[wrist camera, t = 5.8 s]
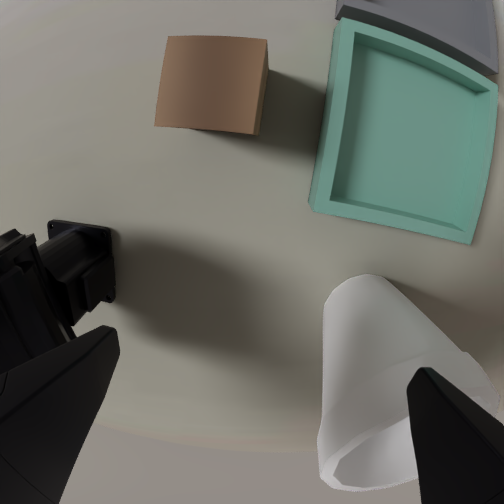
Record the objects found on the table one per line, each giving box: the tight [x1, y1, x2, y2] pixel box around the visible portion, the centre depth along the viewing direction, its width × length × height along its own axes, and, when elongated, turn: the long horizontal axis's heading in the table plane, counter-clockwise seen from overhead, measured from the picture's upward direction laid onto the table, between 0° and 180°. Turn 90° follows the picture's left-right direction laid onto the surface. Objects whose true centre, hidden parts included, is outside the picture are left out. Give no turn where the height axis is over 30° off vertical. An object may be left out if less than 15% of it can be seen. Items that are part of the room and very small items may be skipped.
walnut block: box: [154, 36, 269, 136], centre depth 14 cm, size 4×4×6 cm
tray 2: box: [308, 17, 498, 245], centre depth 15 cm, size 12×12×2 cm
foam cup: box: [317, 274, 500, 492], centre depth 16 cm, size 10×9×13 cm
